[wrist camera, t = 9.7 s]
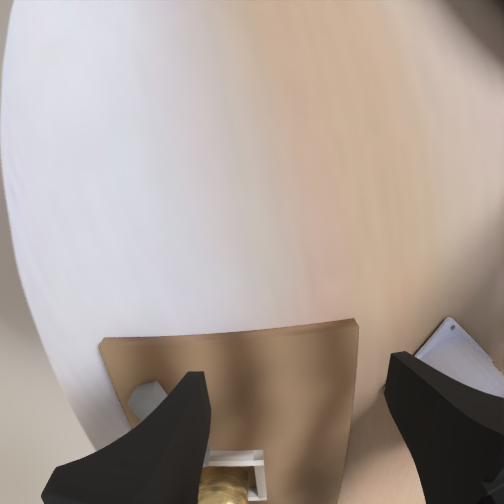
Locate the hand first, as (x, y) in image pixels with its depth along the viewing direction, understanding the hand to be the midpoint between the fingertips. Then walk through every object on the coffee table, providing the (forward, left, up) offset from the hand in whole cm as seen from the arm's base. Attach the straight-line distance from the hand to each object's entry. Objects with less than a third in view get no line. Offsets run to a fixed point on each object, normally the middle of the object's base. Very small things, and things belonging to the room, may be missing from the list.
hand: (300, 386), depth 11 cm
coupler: (-7, +17, -8) cm, 20 cm away
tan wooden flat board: (-8, +15, -9) cm, 19 cm away
